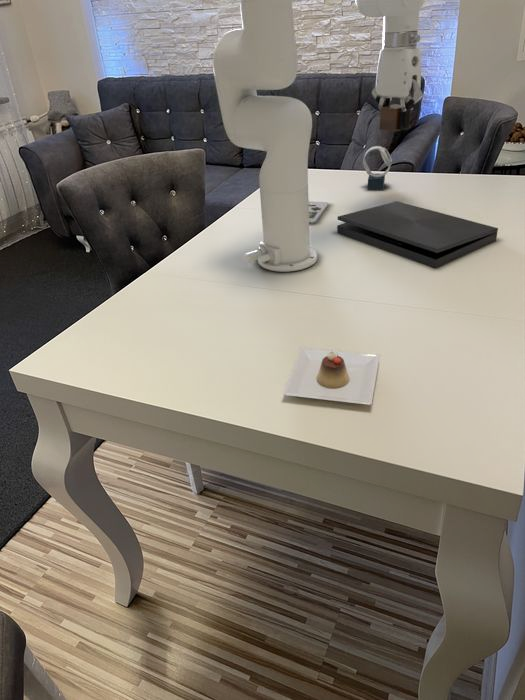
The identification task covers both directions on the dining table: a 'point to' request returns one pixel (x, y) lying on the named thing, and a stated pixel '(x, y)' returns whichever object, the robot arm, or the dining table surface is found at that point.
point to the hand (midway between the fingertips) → (394, 126)
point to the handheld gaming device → (316, 210)
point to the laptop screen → (418, 226)
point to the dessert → (333, 376)
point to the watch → (377, 179)
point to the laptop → (409, 249)
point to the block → (390, 117)
